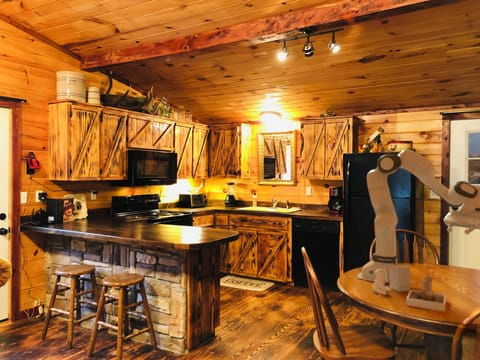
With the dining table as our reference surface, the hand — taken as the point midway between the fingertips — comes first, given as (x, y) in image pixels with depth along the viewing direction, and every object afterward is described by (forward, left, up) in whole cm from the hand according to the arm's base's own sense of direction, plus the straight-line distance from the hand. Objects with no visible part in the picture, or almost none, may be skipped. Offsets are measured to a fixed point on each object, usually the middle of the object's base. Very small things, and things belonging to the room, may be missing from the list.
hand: (457, 232), depth 197 cm
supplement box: (-26, -9, -32) cm, 42 cm away
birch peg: (-12, -27, -31) cm, 42 cm away
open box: (-12, -27, -31) cm, 43 cm away
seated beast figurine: (-34, -18, -32) cm, 50 cm away
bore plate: (-12, -27, -31) cm, 42 cm away
